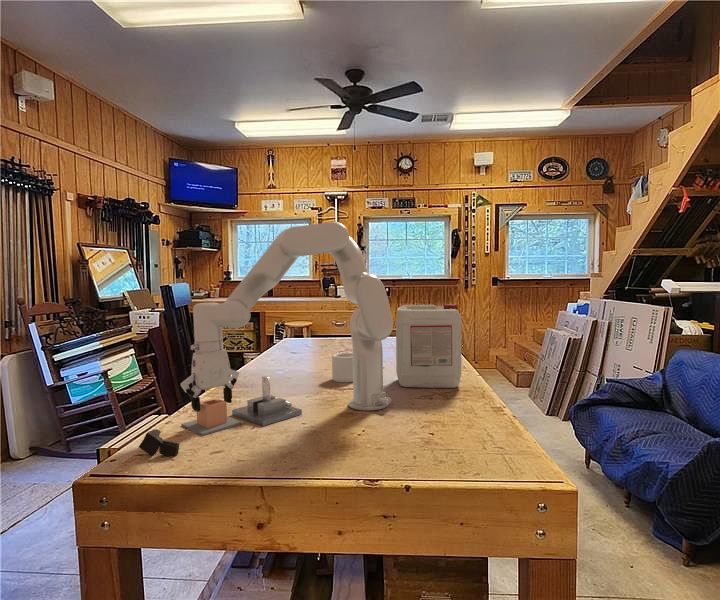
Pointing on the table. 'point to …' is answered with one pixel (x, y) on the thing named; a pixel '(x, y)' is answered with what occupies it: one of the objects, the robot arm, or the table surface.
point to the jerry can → (428, 346)
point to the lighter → (158, 444)
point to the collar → (212, 413)
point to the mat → (204, 431)
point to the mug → (342, 367)
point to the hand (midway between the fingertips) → (212, 406)
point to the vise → (266, 408)
